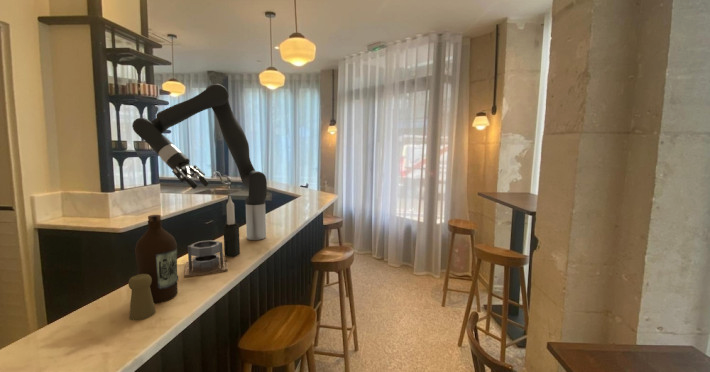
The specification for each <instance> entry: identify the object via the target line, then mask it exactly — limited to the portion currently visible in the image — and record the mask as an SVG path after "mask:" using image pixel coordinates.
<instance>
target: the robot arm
mask: <svg viewBox="0 0 710 372" xmlns="http://www.w3.org/2000/svg"><path fill="white" fill-rule="evenodd" d="M229 95H230V94H229V91H228V90H227V88H226V87H225V86H223V85H222V84H220V83H213V84H210V85H208V86H207V87H206V88H205V89H204V90H203V91H201V92H200V93H198V94H197V95H195V96H193V97H192V98H189V99H187V100H184V101H182V102H179V103H176V104H174V105H172V106H170V107H167V108H165V109H163V110H161V111H159V112H158V113H156V115H155V116H156V118H154V119H152V120H149V118H148V119H147V118H146V117H138V118H136V119H134V120H133V122H132V126H131V127H132V130H133V131H134V133H135V134H137V135H138V136H139V137H140V138H141V139H142V140H143V141H144V142H145V143H147V145H148V146H150V148H151V149H152V150H153V151H154V152H155V153H156V155H157V156H159V157H160V159H161V160H162V161H163V162H164V163H165V164H166V165H167V166H168V167H169V168H170V169H171V170H172V171H171V172H172V173H173V175H174V176H175V177H176V178H177V179H178V180H179V181H180V182H182V183H186V184H188V186H190V187H191V188H192V189H193V190H196V188H198V187H199V185H198V183H197V182H196V181H195V180H194V179H197V180H198V181H199V182H200V183H201V184H202V185H203V186H204V187H208V186H209V185H210V182H209V181H208V180H207V178H205V176H206V174H205V172H203V170H201V169H200V168H199V167H198V166H197V165H195V164H194V165H191V164H190V159H189V158H188V157H187V155H185V154H184V153H183V152H182V151H181V150H180V148H178V147H177V146H176V145H174V143H172V141H170V139H169V138H168V137H166V136H165V135H164V134H163V133H164V132H165V131H167V130H168V129H170V128H171V127H173V126H176V125H178V124H179V123H182V122H184V121H185V120H187V119H190V118H191V117H193V116H195V115H196V114H198V113H201V112H203V111H206V110H209V109H212V112H213V113H214V115H215V117H216V119H217V122H218V125H219V129H220V131H221V134H222V137H223V139H224V142H225V145H226V146H227V148H228V150H229V152H230V154H231V156H232V159H233V162H234V164H235V165H236V167H237V169H238V173H239V176H240V180H241V183H242V185H243V186H244V187H245V188H246V189H248V196H247V197H246V198H245V201H244V202H245V226H246V231H245V232H246V239H247V240H250V241H260V240H263V239H264V240H265V238H267V224H266V221H267V219H266V217H267V216H266V199H267V195H268V194H267V192H268V190H267V188H268V185H267V183H268V181H267V177H266V175H265V174H264V172H261V171H257V170H256V169H255V168H254V165H253V163H252V161H251V158H250V145H249V141H248V139H247V137H246V134H245V132H244V129H243V128H242V126H241V124H240V123H239V121H238V119H237V118H236V117H235V115H234V112H233V110H232V108H231V105H230V102H229V97H230V96H229Z"/></svg>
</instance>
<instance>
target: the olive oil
mask: <svg viewBox="0 0 710 372" xmlns="http://www.w3.org/2000/svg"><path fill="white" fill-rule="evenodd" d="M161 218H162V216H161V215H160V214H152V215H151V214H150V215H148V216H147V219H148V220H147V227H148V229H146V231H145V232H144V233H143V235H141V236H140V238H138V240H137V241H136V245H135V248H134V255H135V261H136V269H137V275H138V274H148V275H150V276H151V278H152V282H151V285H150V289H151V293H152V297H153V301H154V304H160V303H163V302H164V303H165V302H167V301H169V300H172V299H174V298H175V297H176V296H177V295H178V281H179V275H178V243H177V241H176V238H175V237H174V235H172V234H171V233H169V232H168V231H167V230H165V229H164V228H163V227H162V226H163V225H162V224H163V223H162V219H161Z"/></svg>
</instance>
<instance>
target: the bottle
mask: <svg viewBox="0 0 710 372" xmlns="http://www.w3.org/2000/svg"><path fill="white" fill-rule="evenodd" d="M235 217H236V216H235V203H234V202H233V200H232V196H231V195H229V196H228V200H227V203H226V222H225V224H224V225H223V227H222V228H223V245H224V246H223V248H224V249H223V250H224V253H223V254H224V257H225V258H228V257H230V258H236V257H238V256H239V255H240V254H241V248H240V247H241V246H240V224H239V223H237V222H236V220H235V219H236V218H235Z"/></svg>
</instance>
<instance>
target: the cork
mask: <svg viewBox="0 0 710 372" xmlns="http://www.w3.org/2000/svg"><path fill="white" fill-rule="evenodd" d="M151 282H152V278H151V276H150V275H148V274H138V273H137V274H136V275H133V276H132V277H130V278H129V280H128V283H127V284H128V287H129V289H130V290H131V291H130V292H131V293H130V303H129V304H130V305H129V316H128V318H129V320H131V321H142V320H146V319H148V318H151V317H153V316H155V314H156V312H157V310H156V307H155V303H154V301H153V297H152V293H151V289H150V285H151Z"/></svg>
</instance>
